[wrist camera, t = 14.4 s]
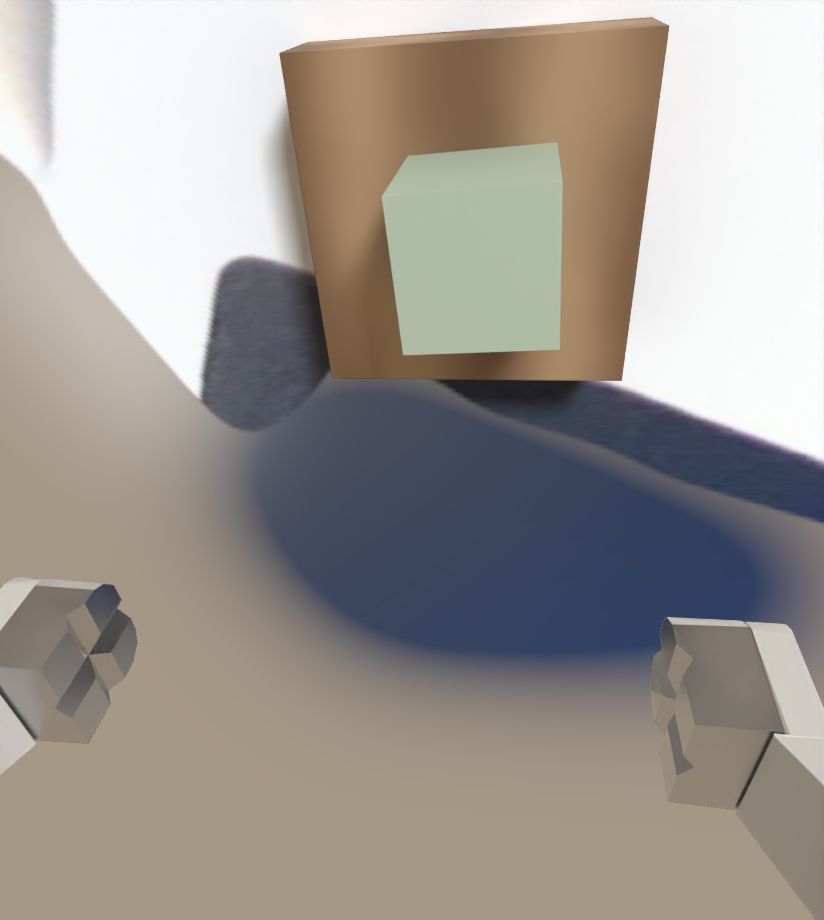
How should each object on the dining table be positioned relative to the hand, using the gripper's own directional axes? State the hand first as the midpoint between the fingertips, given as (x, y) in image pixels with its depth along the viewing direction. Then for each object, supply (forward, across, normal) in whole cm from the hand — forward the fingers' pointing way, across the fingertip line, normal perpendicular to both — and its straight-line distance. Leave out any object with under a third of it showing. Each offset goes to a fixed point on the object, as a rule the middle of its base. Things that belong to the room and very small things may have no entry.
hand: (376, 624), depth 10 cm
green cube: (+18, -1, 0) cm, 18 cm away
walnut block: (+22, 0, 0) cm, 22 cm away
